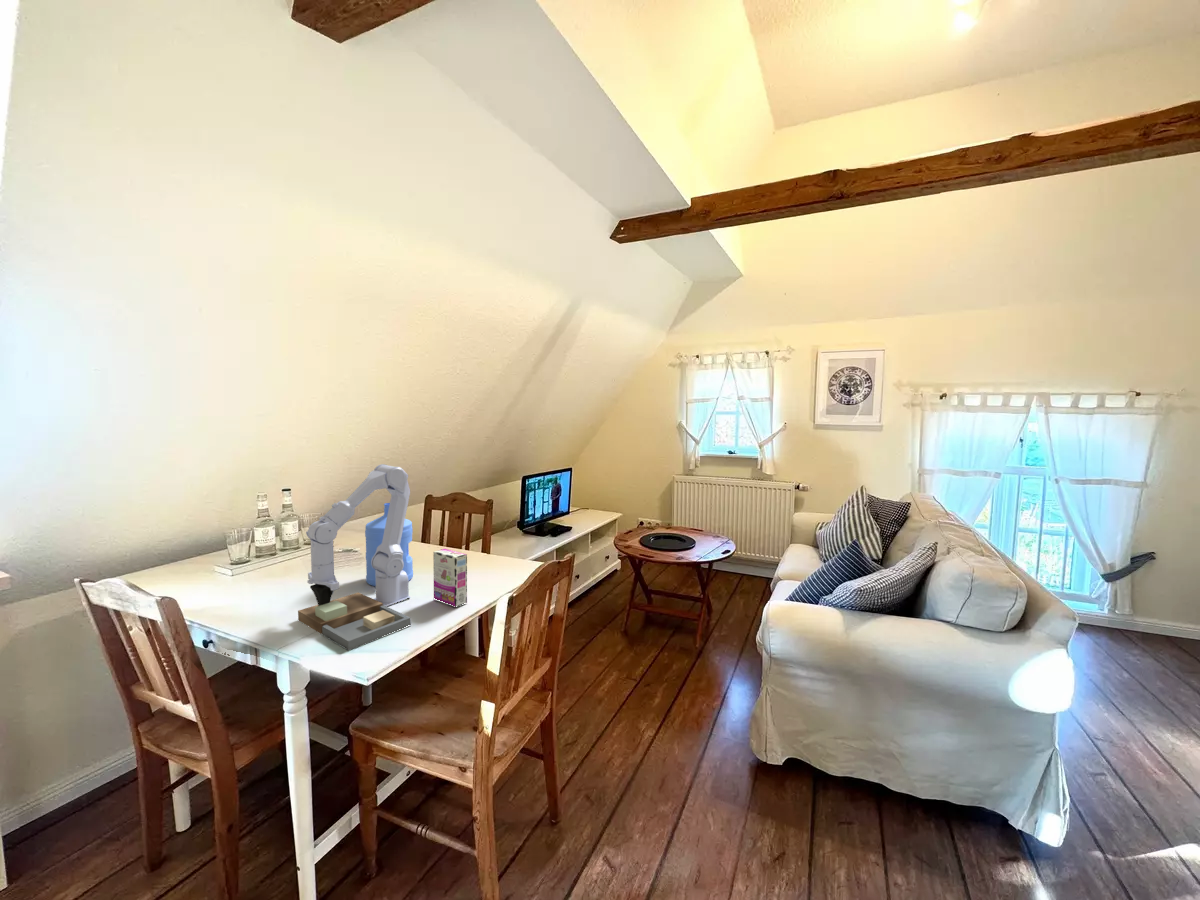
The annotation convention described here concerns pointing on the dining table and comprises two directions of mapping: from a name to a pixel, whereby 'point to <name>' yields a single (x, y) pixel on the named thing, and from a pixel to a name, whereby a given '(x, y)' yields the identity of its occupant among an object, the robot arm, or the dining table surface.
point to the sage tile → (331, 610)
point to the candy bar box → (450, 577)
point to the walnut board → (355, 611)
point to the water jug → (375, 538)
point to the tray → (364, 630)
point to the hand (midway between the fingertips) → (324, 608)
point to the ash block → (378, 619)
